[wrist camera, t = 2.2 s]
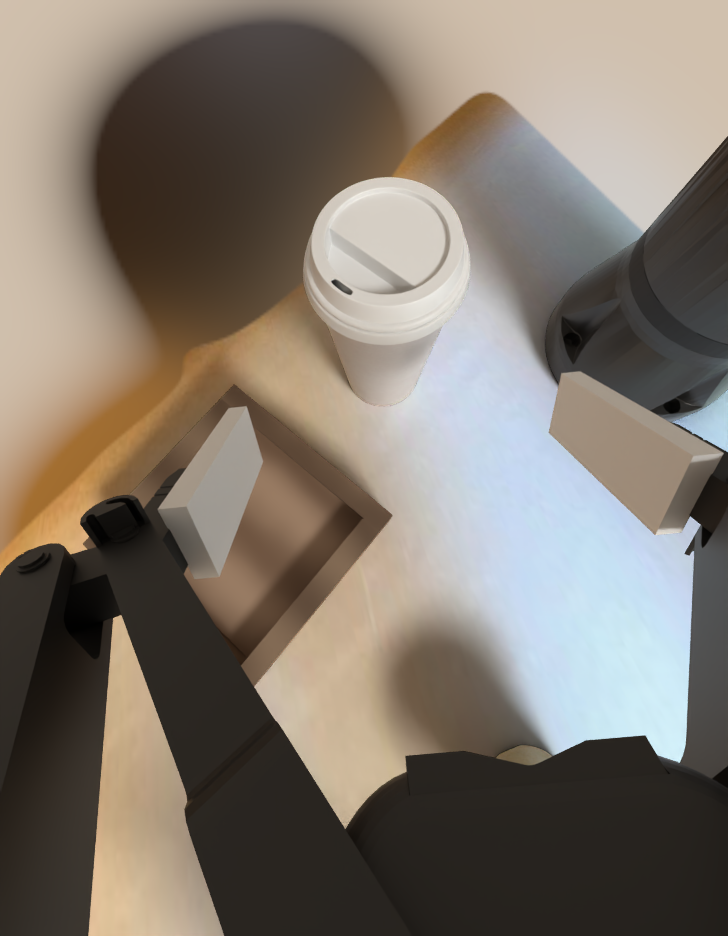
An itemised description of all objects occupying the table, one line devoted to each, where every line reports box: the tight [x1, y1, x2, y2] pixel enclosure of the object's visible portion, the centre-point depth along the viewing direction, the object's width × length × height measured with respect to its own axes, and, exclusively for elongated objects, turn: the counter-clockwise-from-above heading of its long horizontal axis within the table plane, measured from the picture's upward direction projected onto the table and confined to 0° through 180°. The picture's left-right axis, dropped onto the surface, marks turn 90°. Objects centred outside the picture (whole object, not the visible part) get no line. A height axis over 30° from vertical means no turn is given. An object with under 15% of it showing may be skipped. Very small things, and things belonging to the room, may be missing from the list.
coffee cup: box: [303, 177, 470, 406], centre depth 26 cm, size 10×10×15 cm
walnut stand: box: [83, 385, 393, 686], centre depth 28 cm, size 16×16×5 cm
